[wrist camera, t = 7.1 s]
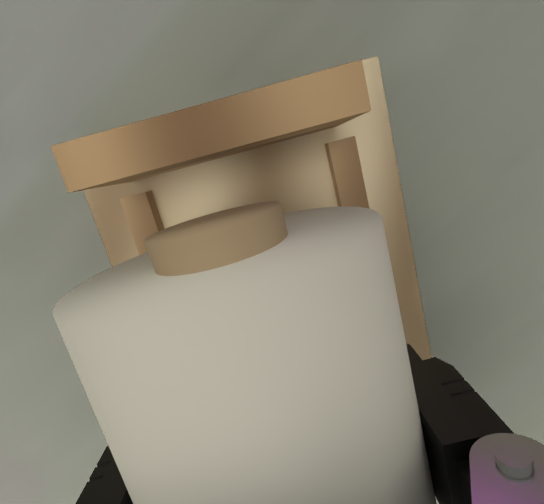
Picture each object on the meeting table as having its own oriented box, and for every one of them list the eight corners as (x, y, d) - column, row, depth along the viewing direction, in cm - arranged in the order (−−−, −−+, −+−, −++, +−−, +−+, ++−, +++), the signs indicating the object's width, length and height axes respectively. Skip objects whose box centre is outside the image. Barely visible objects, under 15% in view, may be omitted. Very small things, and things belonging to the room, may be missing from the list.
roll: (120, 231, 10) (-73, 326, 4) (338, 173, 10) (443, 193, 4) (234, 547, 13) (209, 871, 7) (409, 508, 13) (534, 809, 7)
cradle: (370, 62, 15) (438, 0, 9) (439, 444, 19) (517, 571, 13) (78, 144, 15) (-38, 135, 9) (208, 497, 20) (184, 641, 14)
